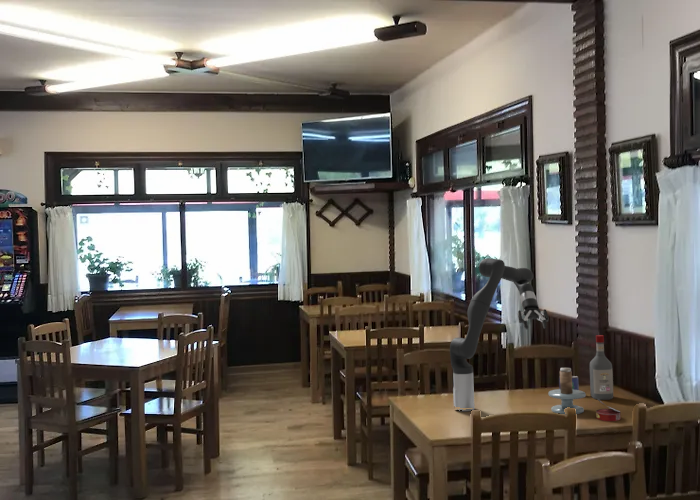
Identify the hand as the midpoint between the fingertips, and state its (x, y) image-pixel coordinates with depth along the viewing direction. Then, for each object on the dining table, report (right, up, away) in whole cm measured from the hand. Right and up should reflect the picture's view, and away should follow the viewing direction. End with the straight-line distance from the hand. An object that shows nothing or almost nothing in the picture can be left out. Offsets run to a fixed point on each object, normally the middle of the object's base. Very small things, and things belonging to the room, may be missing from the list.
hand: (536, 328), depth 337 cm
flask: (+19, -34, +8) cm, 40 cm away
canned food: (+21, -35, -37) cm, 55 cm away
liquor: (+31, -34, -1) cm, 46 cm away
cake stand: (+8, -35, -22) cm, 42 cm away
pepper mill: (+8, -27, -22) cm, 35 cm away
